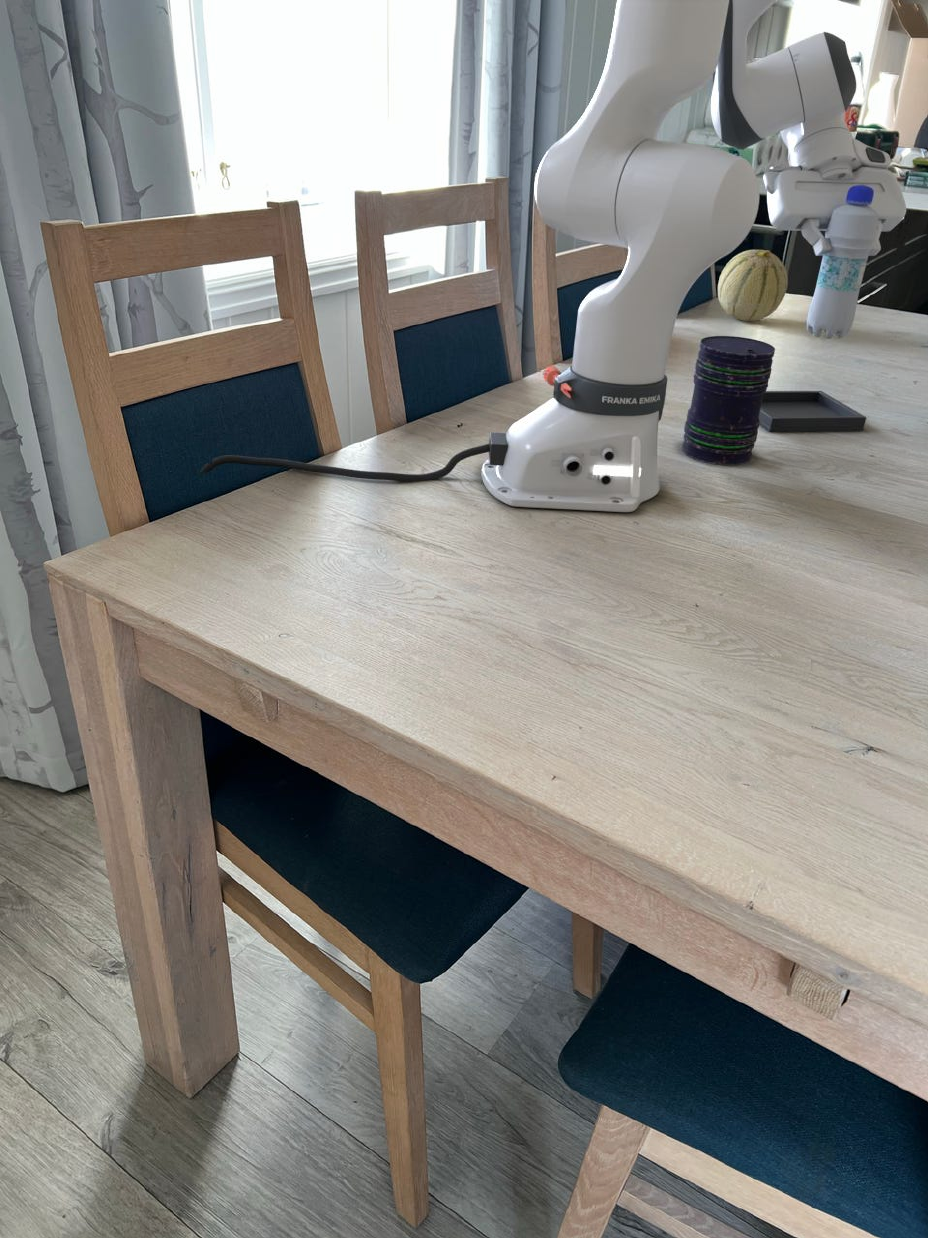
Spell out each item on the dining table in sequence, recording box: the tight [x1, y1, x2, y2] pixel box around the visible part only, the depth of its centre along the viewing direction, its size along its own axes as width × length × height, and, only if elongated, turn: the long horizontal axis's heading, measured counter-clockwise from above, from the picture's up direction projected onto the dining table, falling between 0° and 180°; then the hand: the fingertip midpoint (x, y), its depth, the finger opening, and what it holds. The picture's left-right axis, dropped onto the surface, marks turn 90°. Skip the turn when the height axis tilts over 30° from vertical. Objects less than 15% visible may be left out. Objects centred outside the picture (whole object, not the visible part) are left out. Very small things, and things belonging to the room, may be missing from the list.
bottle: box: [806, 185, 879, 340], centre depth 132 cm, size 7×7×20 cm
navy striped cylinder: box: [681, 335, 776, 466], centre depth 128 cm, size 10×10×15 cm
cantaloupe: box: [717, 249, 789, 322], centre depth 204 cm, size 15×15×15 cm
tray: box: [759, 390, 867, 433], centre depth 147 cm, size 16×14×2 cm
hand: (849, 253), depth 131 cm, fingers closed on bottle, 6 cm apart
